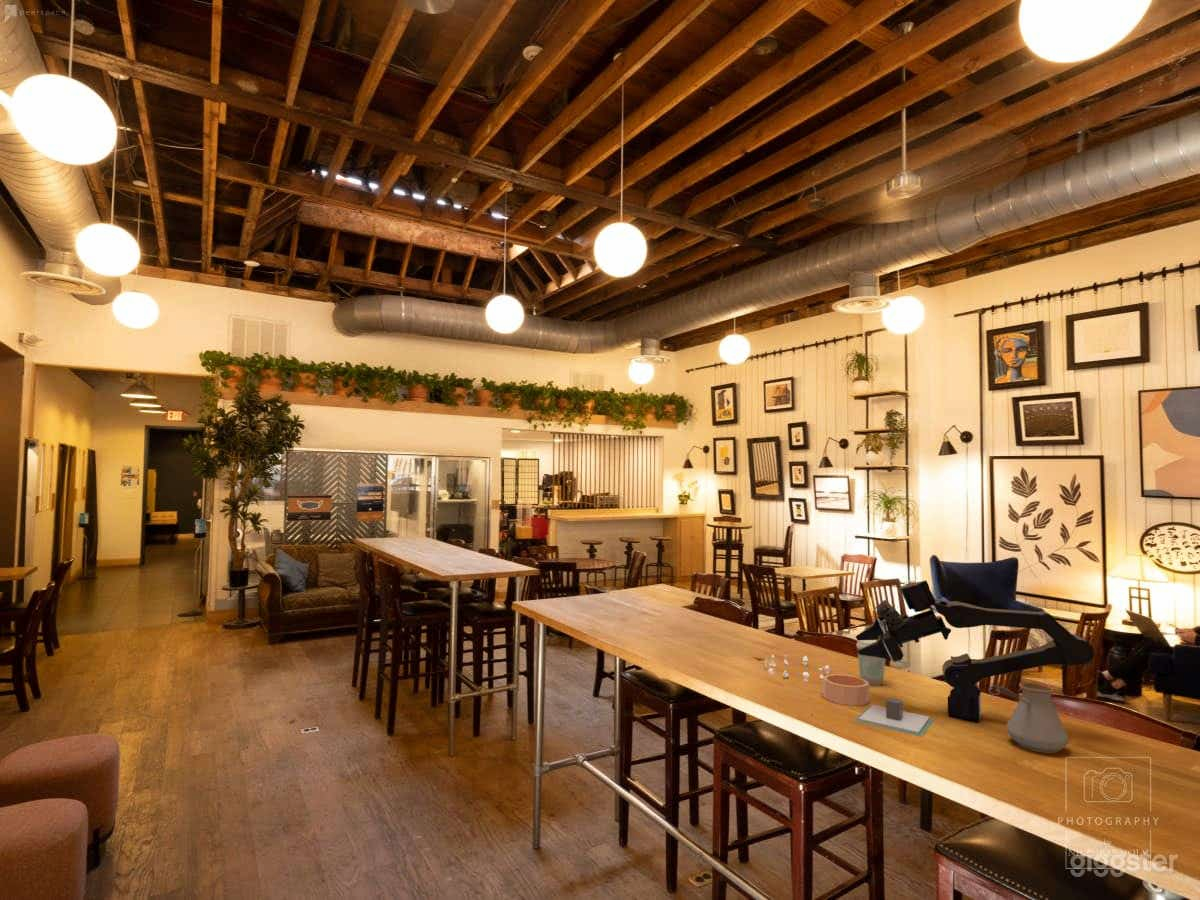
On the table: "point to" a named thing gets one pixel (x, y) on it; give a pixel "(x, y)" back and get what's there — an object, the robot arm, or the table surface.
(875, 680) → the coffee cup
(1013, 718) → the coffee pot
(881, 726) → the mat
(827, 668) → the game piece set
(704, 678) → the table surface
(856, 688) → the pink round tub
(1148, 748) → the table surface
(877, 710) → the lid
